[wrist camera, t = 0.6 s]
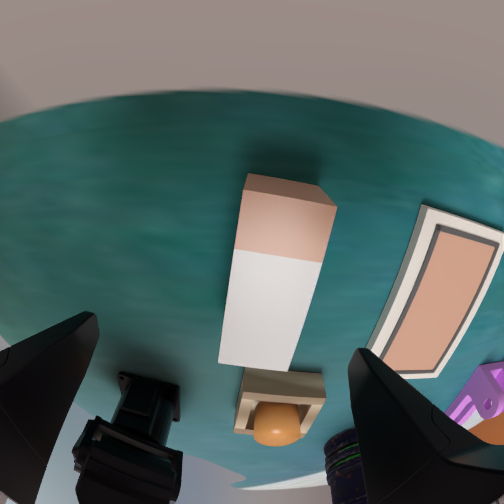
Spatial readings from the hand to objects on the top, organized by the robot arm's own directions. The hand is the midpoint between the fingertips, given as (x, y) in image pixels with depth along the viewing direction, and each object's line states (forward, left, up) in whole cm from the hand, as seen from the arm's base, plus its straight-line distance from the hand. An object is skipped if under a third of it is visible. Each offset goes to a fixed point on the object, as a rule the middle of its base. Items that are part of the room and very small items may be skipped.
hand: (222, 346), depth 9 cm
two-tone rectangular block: (-2, -2, -11) cm, 12 cm away
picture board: (-4, -17, -11) cm, 21 cm away
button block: (-16, -6, -11) cm, 20 cm away
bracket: (-18, -33, -12) cm, 39 cm away
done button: (-16, -6, -9) cm, 19 cm away
